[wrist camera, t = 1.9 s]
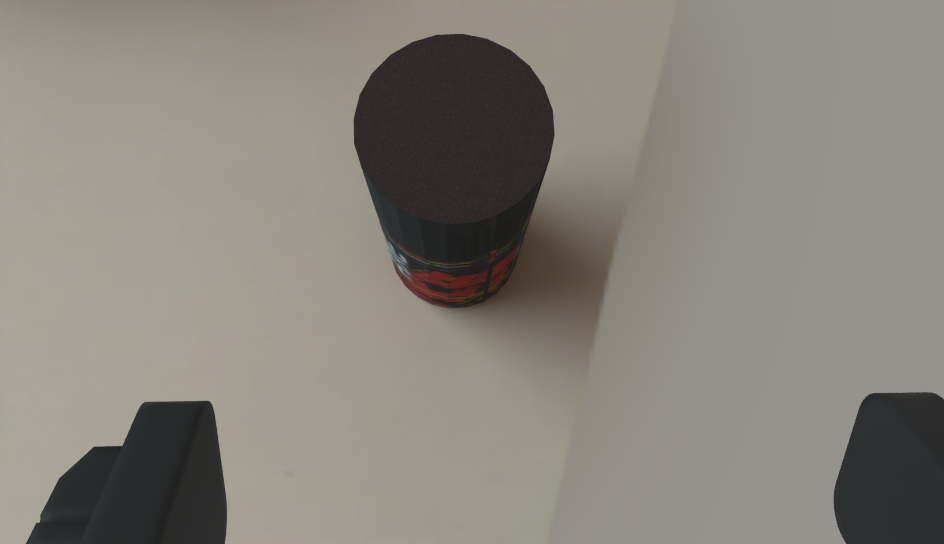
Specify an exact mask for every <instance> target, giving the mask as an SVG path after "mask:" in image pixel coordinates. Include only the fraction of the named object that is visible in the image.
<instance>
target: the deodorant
mask: <svg viewBox="0 0 944 544" xmlns="http://www.w3.org/2000/svg"><path fill="white" fill-rule="evenodd" d="M553 140H554V122H553V110H552V107H551V104H550V102H549V99H548V96H547V93H546V90H545V88H544V86H543V84H542V83H541V81H540V80H539V79H538V77H537V76H536V74H535V73H534V72H533V70H532V69H531V67H530V66H529V65H528V64H526V63H525V62H524V61H523V60H522V59H520V58H519V57H518V56H517V55H516V54H515V53H513V52H512V51H511V50H509V49H507V48H505V47H503V46H501V45H499V44H497V43H495V42H493V41H490V40H488V39H485V38H480V37H475V36H470V35H465V34H449V35H435V36H432V37H428V38H425V39H422V40H418V41H415V42H412V43H410V44H408V45H407V46H405V47H403V48H402V49H400V50H398V51H396V52H395V53H393V54H391V55H390V56H389V57H388V58H387V59H386V60H385V61H384V62H383V63H382V64H381V65H380V66H379V67H378V68H377V69H376V70H375V71H374V72H373V73H372V74H371V76H370V78H369V80H368V81H367V83H366V85H365V87H364V88H363V90H362V92H361V94H360V96H359V100H358V104H357V108H356V112H355V116H354V144H355V148H356V151H357V154H358V157H359V160H360V164H361V167H362V170H363V173H364V176H365V179H366V182H367V185H368V188H369V191H370V194H371V197H372V200H373V203H374V206H375V209H376V212H377V215H378V218H379V221H380V224H381V227H382V230H383V233H384V236H385V239H386V242H387V245H388V248H389V251H390V254H391V257H392V260H393V263H394V266H395V269H396V272H397V274H398V275H399V277H400V278H401V280H402V281H403V283H404V285H405V286H406V287H407V288H408V289H409V290H411V291H412V292H413V293H414V294H415V295H416V296H417V297H419V298H421V299H423V300H425V301H427V302H429V303H431V304H433V305H437V306H442V307H447V308H458V307H468V306H471V305H474V304H477V303H480V302H483V301H484V300H486V299H487V298H489V297H491V296H492V295H494V294H495V293H497V291H498V290H499V289H500V288H501V287H502V286H503V285H504V284H505V283H506V282H507V280H508V278H509V276H510V274H511V272H512V270H513V268H514V266H515V264H516V261H517V257H518V254H519V251H520V248H521V245H522V242H523V239H524V236H525V233H526V230H527V227H528V224H529V221H530V218H531V215H532V211H533V208H534V205H535V202H536V199H537V196H538V193H539V190H540V187H541V184H542V181H543V178H544V175H545V172H546V169H547V165H548V162H549V159H550V154H551V150H552V145H553Z"/></svg>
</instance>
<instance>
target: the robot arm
mask: <svg viewBox="0 0 944 544" xmlns="http://www.w3.org/2000/svg"><path fill="white" fill-rule="evenodd" d="M834 510H835V516H836V520H837V524H838V528H839V530H840V533H841V535H842V537H843V538H844V540H845V542H846V544H944V399H943V398H942V397H940V396H938V395H937V394H935V393H927V392H923V393H873V394H870V395H868V396H867V397H866V398H865V399H864V400H863V402H862V403H861V406H860V408H859V411H858V414H857V417H856V420H855V424H854V427H853V430H852V433H851V437H850V440H849V443H848V446H847V450H846V453H845V456H844V459H843V462H842V465H841V469H840V472H839V475H838V479H837V482H836V485H835V490H834ZM40 516H41V520H40V523H36V525H35V527H34V529H33V531H32V533H31V535H30V537H29V539H28V541H27V543H26V544H225V537H226V525H227V503H226V493H225V486H224V478H223V471H222V464H221V457H220V449H219V442H218V435H217V427H216V420H215V414H214V410H213V406H212V404H211V403H210V402H209V401H174V402H144V403H143V404H142V405H141V406H140V408H139V410H138V412H137V414H136V416H135V419H134V421H133V423H132V426H131V428H130V430H129V432H128V435H127V437H126V439H125V442H124V444H123V446H107V447H93V448H92V449H91V450H90V451H89V452H88V453H87V454H86V455H85V456H83V457H82V458H81V459H80V460H79V461H78V462H77V463H76V464H75V465H74V466H72V467H71V468H70V469H69V470H68V471H67V472H66V473H65V474H64V475H63V476H61V477H60V478H59V480H58V482H57V484H56V486H55V488H54V490H53V492H52V494H51V496H50V498H49V500H48V502H47V504H46V505H45V507H44V509H43V511H42V513H41V515H40Z"/></svg>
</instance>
